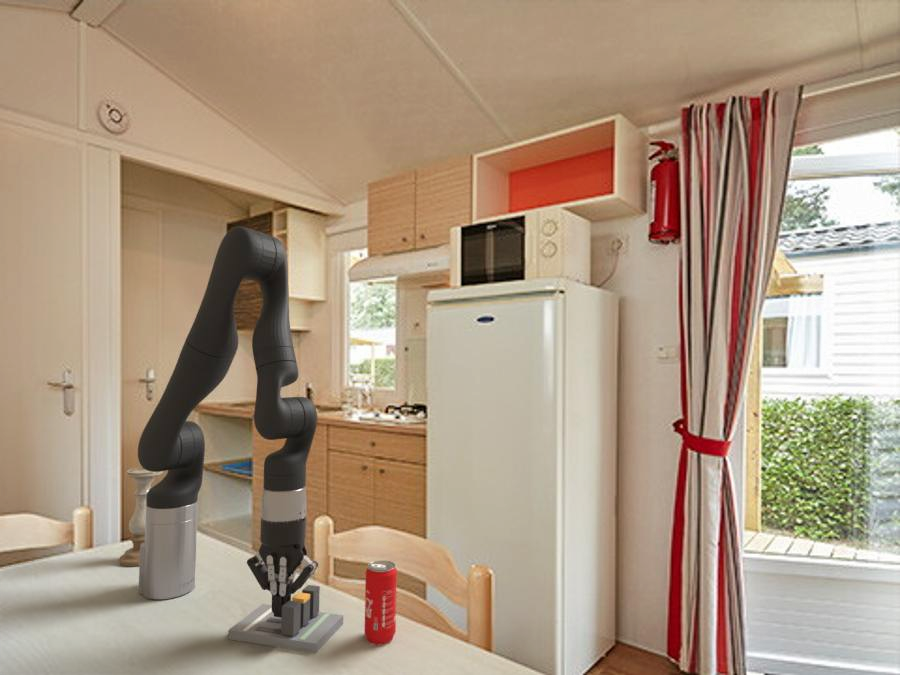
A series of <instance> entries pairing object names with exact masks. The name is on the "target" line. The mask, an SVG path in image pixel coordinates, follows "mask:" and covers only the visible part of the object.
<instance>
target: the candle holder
mask: <svg viewBox="0 0 900 675" xmlns="http://www.w3.org/2000/svg"><path fill="white" fill-rule="evenodd" d="M163 473H164V471H159V472H151V471H148V470H145V469H144V468H143V467H142V466H141V467H135V468H130V469H128V470H126V471H125V477H126V478H130V479H131V478H132V479H133V482H134V483H135V484H136V487H137V488H136V490H135V491H134V493H133V495H134V496H136V504H135V510H134V512H133V514H132V516H131V519H130V520H129V523H128V529H129V531H130V532H131V533H132V535H131V536H130V538H129V540H130V541H131V543H132V547H130V548H129V549H127V550H126V551H124V553H123V554H122V555H120V556H119V558H118V563H119V564H120V565H121V566H124V567H140V545H141V544H142V543H144V542H145V524H146V497H147V492H148V491H149V490H150V489H151V488H152V483H153V482H154V481H155V477H157V476H160V475H162V474H163Z"/></svg>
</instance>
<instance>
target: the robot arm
mask: <svg viewBox="0 0 900 675" xmlns="http://www.w3.org/2000/svg"><path fill="white" fill-rule="evenodd" d="M214 258H215V259H214V261H213V265H212V268H211V271H210V272H211V273H210V274H209V278H208V282H207V284H206V289H205V292H204V294H203V297H202V300H201V303H200V305H199V308H198V310H197V313H196V315H195V318H194V321H193V323H192V326H191V328H190V330H189V332H188V334H187V336H186V338H185V341H184V343H183V345H182V348H181V350H180V353H179V355H178V359H177V361H176V364H175V366H174V369H173V371H172V374H171V375H170V377H169V380H168V382H167V384H166V387H165V389H164V391H163V394H162V395H161V397H160V398H159V401H158V402H157V405H156V407H155V408H154V410H153V412H152V414H151V416H150V418H149V420H148V421H147V423H146V425H145V427H144V429H143V430H142V433H141V435H140V437H139V442H138V446H137V458H138V461H139V464H140V466H141V468H142V467H143V468H144V469H145V470H148V471H151V472H159V471H163V472H164V471H167V473H166V475H164V477H163V478H162V479H161V480H160V481H159V482H158V483H157V484H155V485H154V486H151V489H150V490H149V491H148V492H147V497H146V524H145V542H144V543H142V544H141V545H140V566H138V567H139V570H138V571H139V572H138V573H139V575H138V594H141V595H143V597H145V598H146V599H148V600H149V599H150V600H167V599H174V598H177V597H181V596H184V595H186V594H189V593H190V592H191V591H192V590H194V588H195V586H196V567H197V566H196V562H197V533H198V532H197V530H198V529H197V528H198V526H197V525H198V498H199V497H198V496H199V492H200V489H201V487H202V484H203V475H204V474H203V473H204V463H205V455H206V454H205V452H206V447H205V446H206V444H205V441H206V440H205V436H204V431H203V430H202V428H201V427H200V425H198V423H196V422H195V421H190V420H188V418H189V416H190V415H191V413H192V412H193V411H194V409H196V408H197V406H198V405H200V403H202V402H203V400H205V398H207V397H208V396H209V395H210V394H211V393H212V392H213V391H214V390H216V388H217V387H218V386H219V385H221V383H222V382H223V380H224V379H225V378H226V376H227V374H228V372H229V371H230V368H231V365H232V363H233V362H234V358H235V357H236V355H237V354H236V353H237V351H238V348H239V334H238V328H237V323H236V318H235V311H234V310H235V308H234V306H235V299H236V297H237V295H238V291H239V288H240V286H241V284H242V282H243V280H244V279H245V280H249V281H252V282H257V283H258V285H259V288H260V292H261V297H262V307H261V312H260V313H259V317H258V319H257V322H256V324H255V327H254V330H253V333H252V340H251V345H252V346H251V348H252V349H251V350H252V354H253V361H254V366H255V371H256V378H257V379H256V381H257V382H256V392H255V393H256V396H255V403H254V411H253V422H254V427H255V429H256V431H257V432H258V434H259V435H260V436H261V437H262V438H263V439H265V440H269V441H275V440H281V439H286V440H285V442H284V444H283V446H282V447H281V448H280V449H278V450H276V451H274V452H271V453H269V454H268V455H267V456H266V457H265V458H264V463H263V485H262V486H263V488H262V495H261V502H260V503H261V504H260V531H259V532H260V535H259V536H260V538H259V539H260V543H261V544H260V547H259V548H258V553H256V554H255V555H253V556H251V557H250V558H248V559H247V561H246V564H247V566H248V567H249V569H250V571H251V572H252V574H253V575H254V578H255V579H256V581H257V582H258V584H259V586H260V588H261V589H262V590H263V591H265V590H266V591H268V592H270V595H271V605H272V609H271V610H272V613H274V617H280V618H282V606H283V605H284V604H285V603H287V602H288V601H292V595H293V594H295V593H296V592H297V591H299V590H301V588H302V587H303V586H304V585H305V584H306V582H307V581H308V580H309V578H310V577H311V576H312V575H313V574H314V572H315V571H316V570H317V568H318V567H319V562H318V561H316V560H314V561H312V560H311V559H310V558H309V557H308V552H307V551H308V550H307V549H306V546H305V542H306V537H307V535H306V534H307V533H306V532H307V511H308V508H307V502H308V501H307V491H306V489H307V488H306V484H307V482H306V481H307V480H306V478H307V476H306V475H307V474H306V473H307V461H308V458H309V455H310V451H311V447H312V445H313V440H314V437H315V434H316V430H317V427H318V413H317V408H316V406H315V404H314V403H313V401H312V400H311V399H310V398H308V397H304V396H292V397H289V396H287V397H282V396H281V390H282V388H284V387H287V386H289V385H293V384H294V383H295V382H296V381H297V380H298V378H299V368H298V363H297V358H296V352H295V347H294V343H293V337H292V332H291V331H292V330H291V325H290V324H291V323H290V304H289V303H290V295H289V267H288V266H289V265H288V256H287V250H286V248H285V245H284V243H283V242H282V241H281V240H280V239H279V238H278V237H276V236H273V235H270V234H267V233H264V232H260V231H258V230H256V229H255V230H254V229H252V228H249V227H246V226H241V225H240V226H237V225H236V226H234V227H232V228H230V229H229V230H228V231H227V232H226V234H225V235H224V236H223V238H222V240H221V241H220V244H219V246H218V249H217V251H216V255H215V257H214ZM299 567H300V570H299V571H300V574H299V575H298V576H297V578H296V573H297V570H298V568H299Z"/></svg>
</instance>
